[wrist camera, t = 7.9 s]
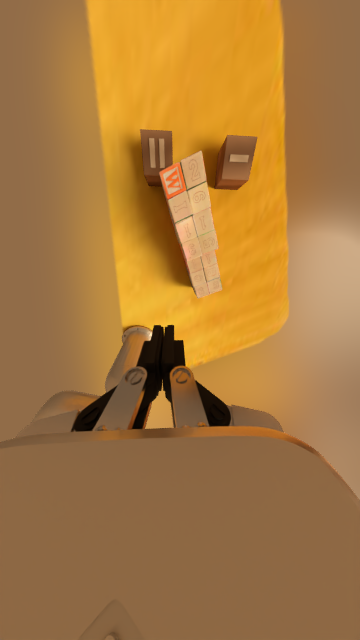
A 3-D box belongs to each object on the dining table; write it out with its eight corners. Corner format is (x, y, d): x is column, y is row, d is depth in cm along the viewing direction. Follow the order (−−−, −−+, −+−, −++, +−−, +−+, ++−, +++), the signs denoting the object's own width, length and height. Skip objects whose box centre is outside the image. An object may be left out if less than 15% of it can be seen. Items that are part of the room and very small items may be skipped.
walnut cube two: (172, 186, 27) (172, 175, 23) (149, 185, 27) (143, 174, 22) (172, 150, 25) (171, 130, 20) (146, 149, 24) (139, 128, 20)
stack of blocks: (212, 280, 38) (227, 294, 27) (192, 287, 39) (199, 304, 28) (191, 184, 27) (202, 147, 17) (164, 197, 28) (158, 170, 17)
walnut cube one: (237, 189, 28) (249, 179, 23) (214, 189, 28) (222, 178, 23) (243, 155, 25) (258, 135, 21) (218, 153, 25) (228, 134, 21)
